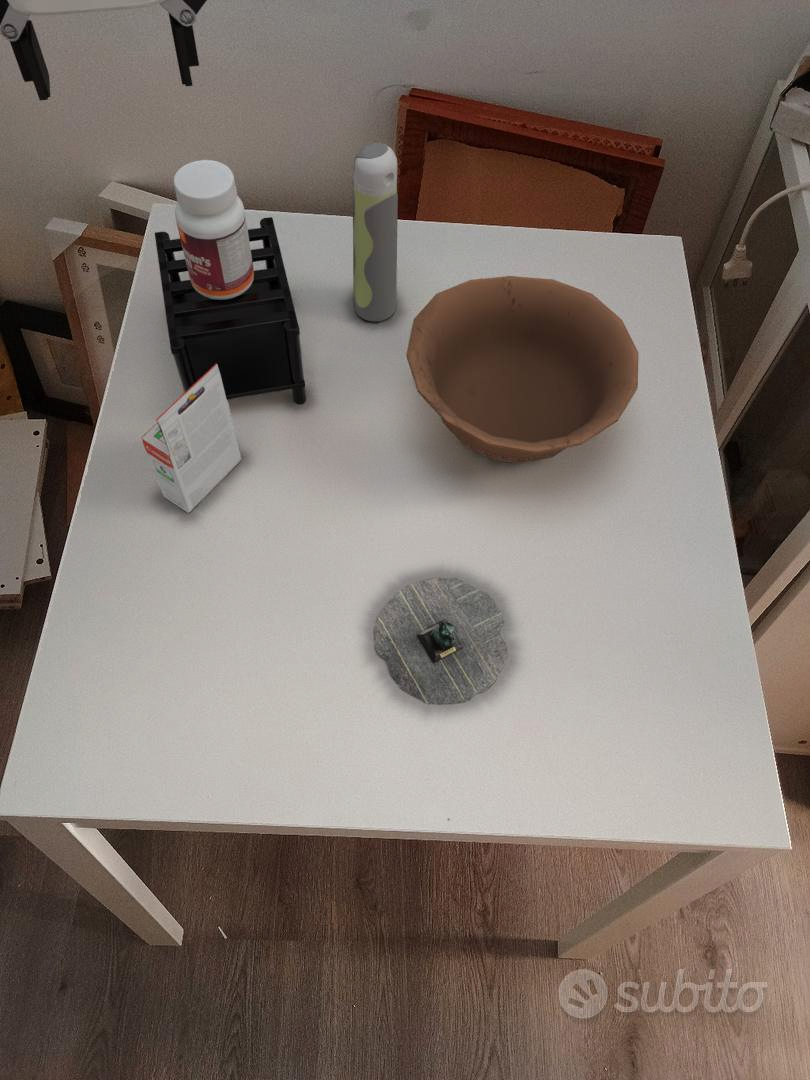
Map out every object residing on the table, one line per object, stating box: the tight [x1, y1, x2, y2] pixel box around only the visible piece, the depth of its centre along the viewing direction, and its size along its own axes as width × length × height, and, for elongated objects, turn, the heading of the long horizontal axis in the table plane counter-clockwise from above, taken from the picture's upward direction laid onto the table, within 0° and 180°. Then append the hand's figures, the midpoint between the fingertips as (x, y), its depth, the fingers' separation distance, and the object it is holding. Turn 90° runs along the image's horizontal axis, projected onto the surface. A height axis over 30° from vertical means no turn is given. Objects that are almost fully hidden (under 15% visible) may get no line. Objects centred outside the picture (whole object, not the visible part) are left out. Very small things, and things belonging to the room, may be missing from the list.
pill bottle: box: [173, 159, 255, 300], centre depth 76 cm, size 6×6×11 cm
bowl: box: [406, 275, 639, 464], centre depth 82 cm, size 22×22×11 cm
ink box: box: [140, 364, 242, 514], centre depth 76 cm, size 4×8×15 cm, turn 146°
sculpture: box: [374, 577, 509, 705], centre depth 74 cm, size 12×9×8 cm
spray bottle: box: [352, 142, 399, 323], centre depth 86 cm, size 5×5×20 cm
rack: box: [154, 216, 307, 406], centre depth 85 cm, size 12×16×11 cm
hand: (116, 82), depth 58 cm, fingers open, 9 cm apart
